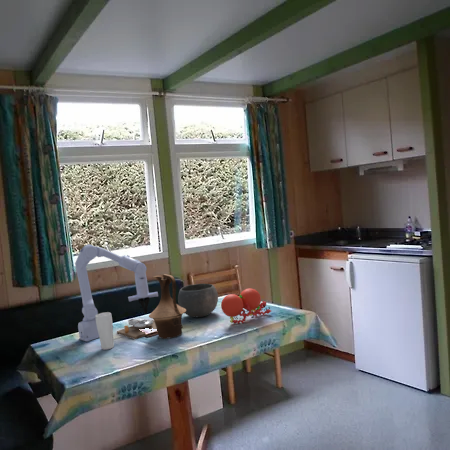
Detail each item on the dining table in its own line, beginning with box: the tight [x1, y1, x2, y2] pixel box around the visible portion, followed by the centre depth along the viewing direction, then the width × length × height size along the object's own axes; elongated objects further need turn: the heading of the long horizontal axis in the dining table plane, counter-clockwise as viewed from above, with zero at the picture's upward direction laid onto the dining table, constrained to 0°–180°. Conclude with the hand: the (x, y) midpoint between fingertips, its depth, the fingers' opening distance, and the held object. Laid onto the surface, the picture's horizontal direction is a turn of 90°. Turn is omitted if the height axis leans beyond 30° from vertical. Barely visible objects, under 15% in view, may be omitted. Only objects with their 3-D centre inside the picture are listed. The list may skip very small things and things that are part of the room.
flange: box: [128, 318, 153, 329], centre depth 223 cm, size 15×9×2 cm, turn 47°
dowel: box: [123, 325, 129, 333], centre depth 216 cm, size 2×2×3 cm
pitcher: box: [148, 273, 186, 339], centre depth 207 cm, size 18×17×28 cm
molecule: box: [220, 287, 272, 325], centre depth 216 cm, size 25×11×15 cm, turn 128°
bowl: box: [177, 283, 219, 318], centre depth 234 cm, size 20×20×15 cm
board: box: [116, 319, 157, 340], centre depth 221 cm, size 20×17×2 cm
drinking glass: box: [95, 311, 115, 351], centre depth 200 cm, size 7×7×15 cm
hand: (145, 312), depth 229 cm, fingers closed
